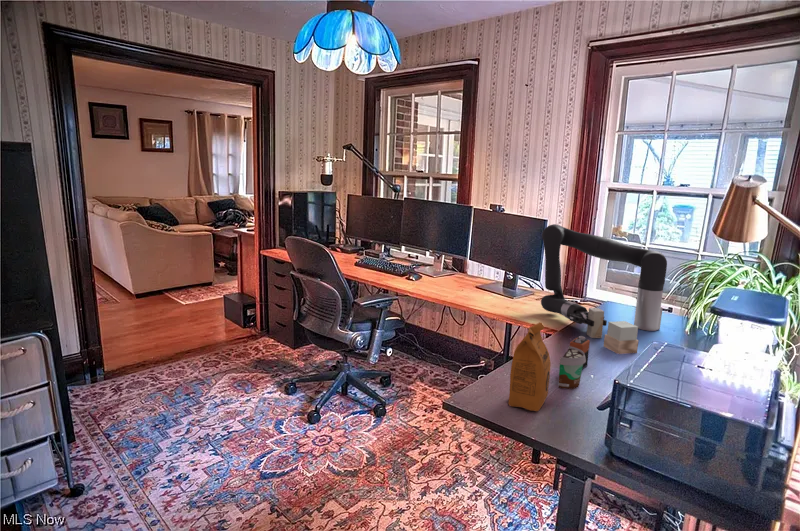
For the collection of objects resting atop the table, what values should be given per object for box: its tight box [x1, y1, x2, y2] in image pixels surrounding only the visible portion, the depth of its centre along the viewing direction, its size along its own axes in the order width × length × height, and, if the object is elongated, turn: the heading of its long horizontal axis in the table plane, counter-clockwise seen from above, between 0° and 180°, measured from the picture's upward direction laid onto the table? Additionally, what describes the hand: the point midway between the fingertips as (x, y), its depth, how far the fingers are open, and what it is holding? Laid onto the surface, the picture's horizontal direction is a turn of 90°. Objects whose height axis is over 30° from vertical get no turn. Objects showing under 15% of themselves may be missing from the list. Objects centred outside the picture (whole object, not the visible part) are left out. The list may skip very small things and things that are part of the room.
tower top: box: [606, 320, 639, 341], centre depth 167 cm, size 7×7×5 cm
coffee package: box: [507, 322, 552, 412], centre depth 123 cm, size 10×12×22 cm
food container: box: [557, 345, 586, 390], centre depth 136 cm, size 12×6×10 cm, turn 148°
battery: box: [569, 335, 590, 370], centre depth 150 cm, size 4×7×10 cm, turn 138°
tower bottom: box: [603, 333, 639, 355], centre depth 168 cm, size 8×8×5 cm
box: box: [586, 307, 605, 339], centre depth 182 cm, size 5×4×11 cm
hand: (599, 323), depth 179 cm, fingers closed on box, 5 cm apart
